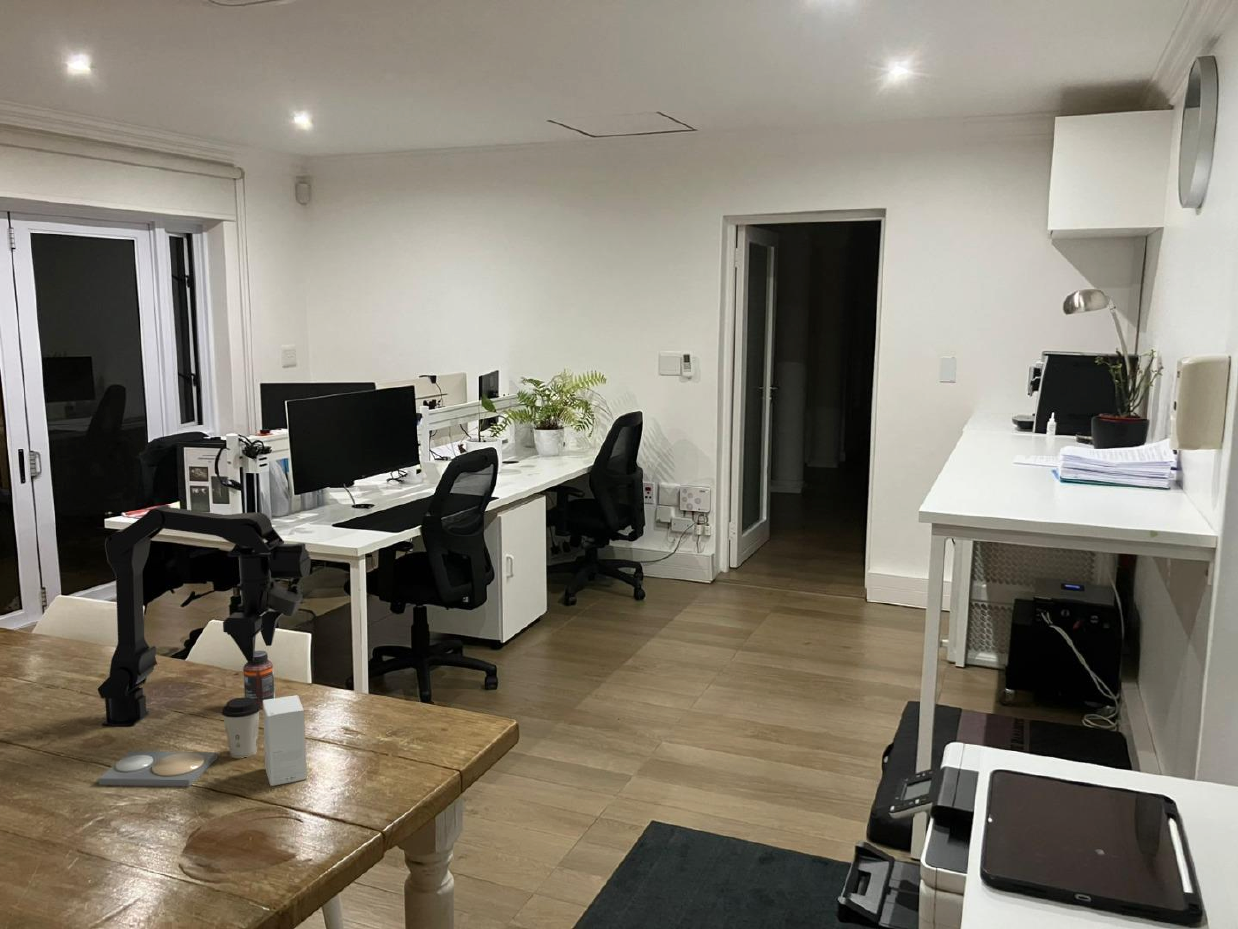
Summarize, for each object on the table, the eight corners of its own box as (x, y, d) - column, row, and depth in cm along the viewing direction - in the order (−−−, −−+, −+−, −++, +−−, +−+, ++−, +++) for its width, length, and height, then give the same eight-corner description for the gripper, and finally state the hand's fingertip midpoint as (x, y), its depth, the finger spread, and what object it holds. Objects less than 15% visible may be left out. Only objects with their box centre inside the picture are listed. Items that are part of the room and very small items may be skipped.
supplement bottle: (280, 700, 207) (277, 649, 206) (267, 711, 202) (264, 658, 200) (253, 698, 208) (250, 648, 206) (239, 709, 202) (237, 657, 201)
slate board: (98, 785, 169) (98, 776, 169) (131, 757, 180) (131, 748, 180) (189, 786, 169) (188, 778, 168) (216, 758, 180) (216, 750, 179)
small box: (307, 780, 172) (304, 710, 170) (269, 787, 169) (266, 716, 167) (301, 761, 179) (298, 694, 177) (264, 768, 176) (261, 699, 174)
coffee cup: (271, 749, 184) (269, 699, 182) (243, 764, 177) (240, 712, 176) (244, 742, 186) (241, 692, 185) (215, 756, 180) (212, 705, 179)
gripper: (277, 590, 182) (282, 670, 184) (312, 566, 200) (315, 638, 202) (219, 590, 182) (224, 669, 184) (259, 565, 201) (263, 638, 203)
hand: (259, 653), depth 194 cm, fingers open, 9 cm apart
